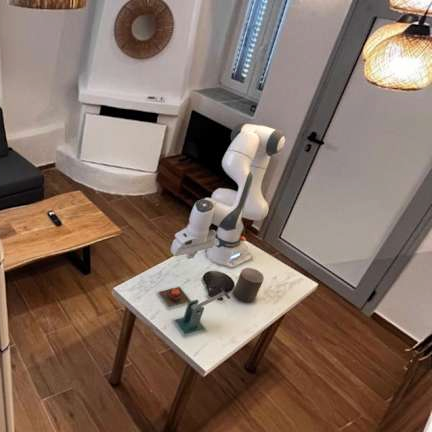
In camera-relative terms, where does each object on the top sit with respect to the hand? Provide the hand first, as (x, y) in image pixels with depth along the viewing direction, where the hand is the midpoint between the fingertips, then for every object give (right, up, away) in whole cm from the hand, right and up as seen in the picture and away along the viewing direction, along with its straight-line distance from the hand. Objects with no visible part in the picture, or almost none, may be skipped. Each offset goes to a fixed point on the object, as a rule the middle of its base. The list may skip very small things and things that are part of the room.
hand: (189, 257), depth 180 cm
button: (-5, -18, +5) cm, 19 cm away
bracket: (-2, -29, -6) cm, 30 cm away
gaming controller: (+15, -18, +10) cm, 26 cm away
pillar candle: (+29, -19, +9) cm, 36 cm away
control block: (-5, -20, +7) cm, 22 cm away
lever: (+4, -18, -12) cm, 22 cm away
